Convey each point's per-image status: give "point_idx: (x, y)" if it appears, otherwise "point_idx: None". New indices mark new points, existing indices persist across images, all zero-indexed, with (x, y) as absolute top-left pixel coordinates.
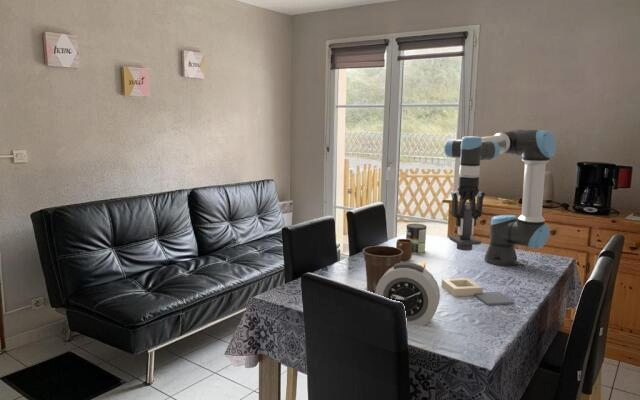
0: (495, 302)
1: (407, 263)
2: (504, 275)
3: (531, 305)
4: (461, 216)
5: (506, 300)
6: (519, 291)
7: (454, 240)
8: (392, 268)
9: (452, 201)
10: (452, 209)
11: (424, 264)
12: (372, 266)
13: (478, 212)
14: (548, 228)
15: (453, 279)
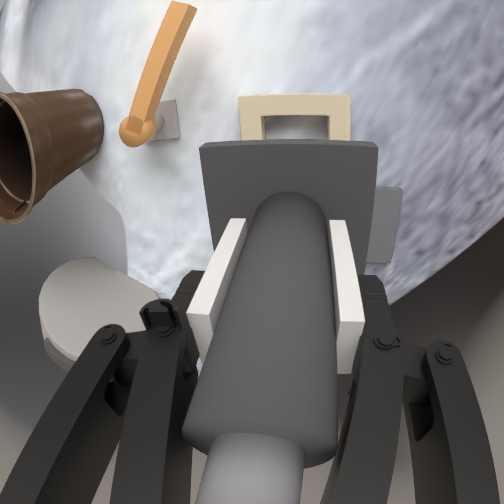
0: None
1: (63, 365)
2: (500, 52)
3: (420, 271)
4: (193, 385)
5: (378, 251)
6: (464, 184)
7: (212, 223)
8: (45, 335)
9: (19, 469)
10: (67, 392)
11: (174, 37)
12: (10, 183)
13: (410, 426)
14: None
15: (282, 104)
